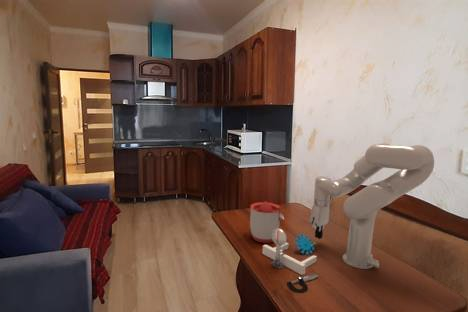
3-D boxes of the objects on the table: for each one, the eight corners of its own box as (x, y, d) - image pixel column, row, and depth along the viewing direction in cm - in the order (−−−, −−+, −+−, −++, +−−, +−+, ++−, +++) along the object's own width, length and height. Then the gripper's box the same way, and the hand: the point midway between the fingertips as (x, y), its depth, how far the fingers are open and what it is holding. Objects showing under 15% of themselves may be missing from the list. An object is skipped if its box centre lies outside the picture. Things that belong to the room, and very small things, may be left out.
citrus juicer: (281, 247, 138) (284, 208, 135) (246, 243, 141) (248, 204, 138) (283, 234, 153) (285, 198, 150) (251, 230, 156) (252, 195, 153)
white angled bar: (321, 264, 124) (322, 255, 123) (302, 275, 115) (302, 265, 114) (281, 245, 140) (282, 237, 140) (262, 253, 131) (262, 245, 131)
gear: (298, 253, 129) (294, 232, 135) (292, 257, 134) (288, 237, 140) (319, 254, 132) (314, 233, 138) (312, 258, 137) (308, 238, 143)
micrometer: (296, 296, 102) (296, 289, 102) (284, 285, 109) (285, 279, 108) (327, 286, 109) (328, 280, 108) (315, 276, 115) (315, 270, 115)
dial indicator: (290, 265, 122) (292, 229, 119) (281, 270, 118) (283, 232, 115) (277, 259, 127) (280, 224, 124) (268, 263, 123) (270, 227, 120)
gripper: (323, 197, 146) (320, 231, 149) (305, 202, 136) (303, 238, 139) (336, 201, 140) (333, 236, 143) (319, 207, 131) (316, 244, 133)
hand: (318, 237), depth 141 cm, fingers closed
